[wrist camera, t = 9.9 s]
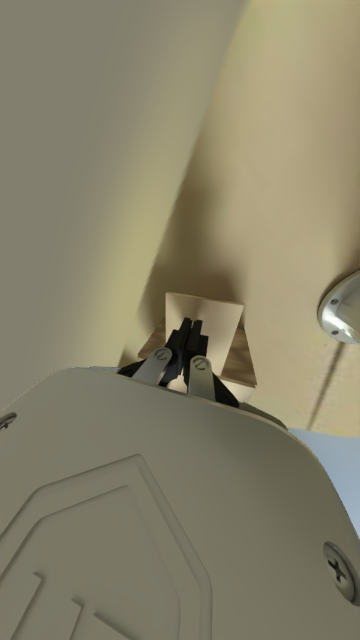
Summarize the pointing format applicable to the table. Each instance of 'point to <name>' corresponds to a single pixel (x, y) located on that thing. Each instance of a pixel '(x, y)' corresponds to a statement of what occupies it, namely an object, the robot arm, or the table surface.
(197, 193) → the table surface
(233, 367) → the carton
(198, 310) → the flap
